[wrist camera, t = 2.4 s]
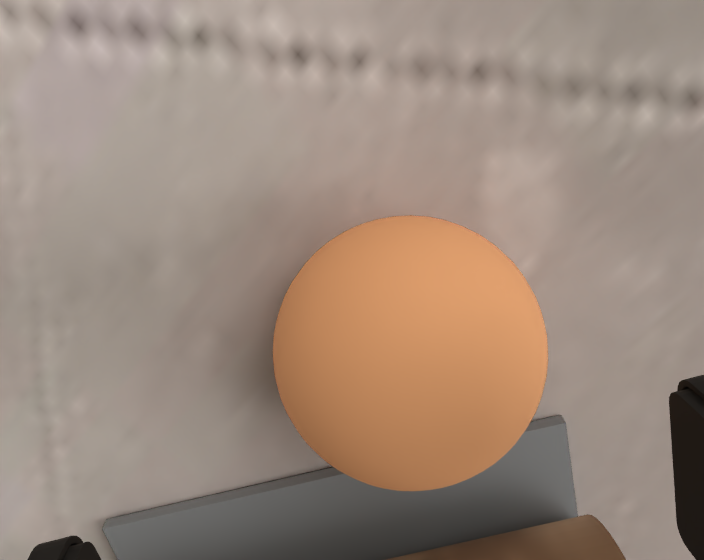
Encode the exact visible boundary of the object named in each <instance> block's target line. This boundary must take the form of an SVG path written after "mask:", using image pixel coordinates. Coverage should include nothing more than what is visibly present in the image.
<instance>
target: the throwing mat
mask: <svg viewBox="0 0 704 560" xmlns="http://www.w3.org/2000/svg"><path fill="white" fill-rule="evenodd" d="M574 517H578V514H577V506H576V498H575V491H574V483H573V475H572V468H571V460H570V452H569V445H568V437H567V429H566V423H565V421H564V419H563V418H562V416H561V415H558V416H554V417H549V418H545V419H541V420H536V421H532V422H530V424H529V425H528V427H527V428H526V430H525V431H524V433H523V434H522V436H521V437H520V438H519V440H518V441H517V442H516V444H515V445H514V446H513V447H512V448H511V449H510V450H509V451H508V452H507V453H506V454H505V455H504V456H503V457H502V458H501V459H499V460H498V461H497V462H496V463H495V464H493V465H492V466H490V467H489V468H487V469H486V470H484V471H483V472H481V473H479V474H477V475H475V476H473V477H471V478H469V479H467V480H465V481H462V482H460V483H457V484H454V485H451V486H447V487H444V488H439V489H433V490H425V491H396V490H390V489H383V488H379V487H376V486H372V485H369V484H366V483H364V482H361V481H358V480H356V479H354V478H352V477H350V476H348V475H346V474H344V473H342V472H341V471H339V470H337V469H336V468H334V467H332V468H328V469H323V470H319V471H315V472H310V473H306V474H302V475H297V476H293V477H288V478H284V479H280V480H275V481H271V482H267V483H262V484H258V485H254V486H249V487H245V488H241V489H236V490H232V491H228V492H223V493H219V494H215V495H210V496H206V497H202V498H197V499H193V500H188V501H184V502H180V503H175V504H171V505H167V506H162V507H158V508H154V509H149V510H145V511H141V512H136V513H132V514H128V515H123V516H119V517H115V518H110V519H106V521H105V524H104V526H103V528H102V530H103V532H104V534H105V536H106V538H107V539H108V541H109V543H110V545H111V547H112V549H113V551H114V553H115V555H116V557H117V559H118V560H386V559H390V558H395V557H399V556H404V555H408V554H413V553H417V552H422V551H426V550H431V549H435V548H440V547H444V546H449V545H453V544H458V543H462V542H467V541H471V540H476V539H480V538H485V537H489V536H494V535H498V534H503V533H507V532H511V531H516V530H520V529H525V528H529V527H534V526H538V525H543V524H547V523H552V522H556V521H561V520H565V519H570V518H574Z"/></svg>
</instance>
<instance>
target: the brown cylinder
mask: <svg viewBox="0 0 704 560" xmlns="http://www.w3.org/2000/svg"><path fill="white" fill-rule="evenodd" d="M386 560H626V559H625V557H624V555H623V554H622V552H621V550H620V549H619V547H618V545H617V544H616V542H615V541H614V539H613V538H612V536H611V535H610V533H609V532H608V531H607V529H606V528H605V527H604V526H603V524H602V523H601V522H600V521H599V520H598V519H597V518H595V517H594V516H592V515H583V516H579V517H574V518H570V519H565V520H561V521H556V522H552V523H547V524H543V525H538V526H534V527H529V528H525V529H520V530H516V531H511V532H507V533H503V534H498V535H494V536H489V537H485V538H480V539H476V540H471V541H467V542H462V543H458V544H453V545H449V546H444V547H440V548H435V549H431V550H426V551H422V552H417V553H413V554H408V555H404V556H399V557H395V558H390V559H386Z"/></svg>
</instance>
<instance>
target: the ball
mask: <svg viewBox="0 0 704 560" xmlns="http://www.w3.org/2000/svg"><path fill="white" fill-rule="evenodd" d="M273 364H274V374H275V378H276V382H277V386H278V390H279V394H280V397H281V400H282V403H283V405H284V407H285V410H286V412H287V414H288V416H289V418H290V419H291V421H292V423H293V424H294V426H295V428H296V429H297V431H298V433H299V434H300V435H301V437H302V438H303V439H304V440H305V441H306V443H307V444H308V445H309V446H310V447H311V448H312V449H313V450H314V451H315V452H316V453H317V454H318V455H319V456H320V457H322V458H323V459H324V460H325V461H326V462H327V463H329V464H330V465H331V466H333V467H334V468H336V469H337V470H339V471H341V472H342V473H344V474H346V475H348V476H350V477H352V478H354V479H356V480H358V481H361V482H364V483H366V484H369V485H372V486H376V487H379V488H383V489H390V490H396V491H425V490H433V489H439V488H444V487H447V486H451V485H454V484H457V483H460V482H462V481H465V480H467V479H469V478H471V477H473V476H475V475H477V474H479V473H481V472H483V471H484V470H486V469H487V468H489V467H490V466H492V465H493V464H495V463H496V462H497V461H498V460H499V459H501V458H502V457H503V456H504V455H505V454H506V453H507V452H508V451H509V450H510V449H511V448H512V447H513V446H514V445H515V444H516V442H517V441H518V440H519V438H520V437H521V436H522V434H523V433H524V431H525V430H526V428H527V427H528V425H529V424H530V422H531V420H532V418H533V416H534V415H535V413H536V410H537V407H538V405H539V402H540V400H541V396H542V393H543V389H544V385H545V381H546V376H547V365H548V345H547V334H546V329H545V325H544V320H543V317H542V313H541V310H540V307H539V305H538V302H537V299H536V297H535V295H534V293H533V292H532V290H531V288H530V286H529V284H528V283H527V281H526V279H525V278H524V276H523V274H522V273H521V272H520V271H519V269H518V268H517V267H516V266H515V264H514V263H513V262H512V261H511V260H510V259H509V258H508V257H507V256H506V255H505V254H504V253H503V252H502V251H500V250H499V249H498V248H497V247H496V246H495V245H494V244H492V243H491V242H489V241H488V240H487V239H485V238H484V237H482V236H481V235H479V234H477V233H475V232H473V231H471V230H469V229H467V228H465V227H463V226H460V225H457V224H454V223H452V222H449V221H446V220H442V219H437V218H432V217H425V216H412V215H410V216H393V217H387V218H382V219H376V220H373V221H370V222H367V223H364V224H360V225H358V226H356V227H354V228H352V229H349V230H347V231H345V232H343V233H342V234H340V235H338V236H337V237H335V238H333V239H332V240H330V241H329V242H328V243H326V244H325V245H324V246H323V247H321V248H320V249H319V250H318V251H317V252H316V253H315V254H314V255H313V256H312V257H311V258H310V259H309V260H308V261H307V262H306V263H305V265H304V266H303V267H302V269H301V270H300V271H299V273H298V274H297V276H296V277H295V278H294V280H293V281H292V283H291V285H290V287H289V289H288V291H287V292H286V294H285V296H284V299H283V302H282V305H281V307H280V310H279V314H278V317H277V321H276V326H275V331H274V340H273Z"/></svg>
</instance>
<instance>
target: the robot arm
mask: <svg viewBox="0 0 704 560" xmlns="http://www.w3.org/2000/svg"><path fill="white" fill-rule="evenodd" d="M669 407H670V423H671V439H672V454H673V470H674V486H675V502H676V518H677V526H678V530H679V533H680V535H681V538H682V540H683V542H684V544H685V545H686V547H687V548H688V550H689V551H690V552H691V553H692V555H693V556H694V557H695V559H696V560H704V375H701V376H697V377H693V378H689V379H685V380H682V381H681V382H679V385H678V391H677V392H673V393H671V394H670V397H669ZM28 560H101V559H100V557H99V555H98V553H97V551H96V549H95V547H94V546H93V544H92V543H90V542H84V543H83V541H82V540H81V539H80V538H79V537H77V536H69V537H65V538H62V539H58V540H54V541H50V542H46V543H42V544H39V545H37V546H36V547H35V548H34V549H33V551H32V552H31V554H30V556H29V558H28Z"/></svg>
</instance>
